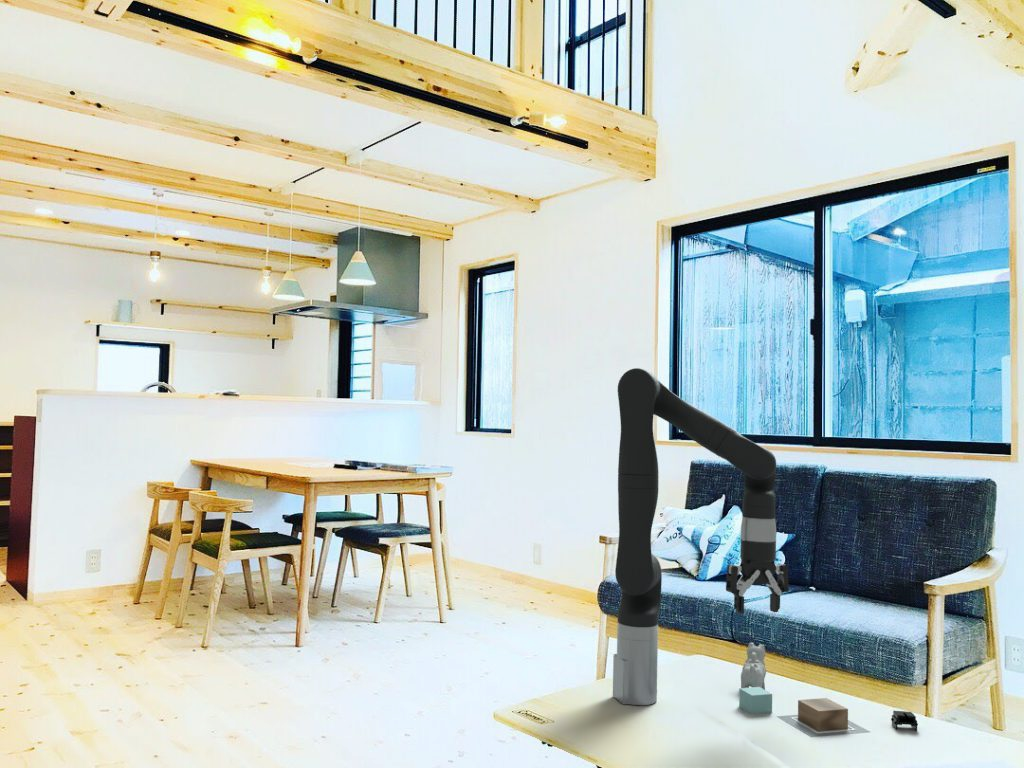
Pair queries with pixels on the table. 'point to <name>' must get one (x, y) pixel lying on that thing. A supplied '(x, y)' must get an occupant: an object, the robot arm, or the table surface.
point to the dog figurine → (754, 667)
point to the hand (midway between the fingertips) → (756, 612)
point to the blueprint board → (814, 733)
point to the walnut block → (822, 714)
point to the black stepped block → (904, 719)
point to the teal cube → (755, 700)
